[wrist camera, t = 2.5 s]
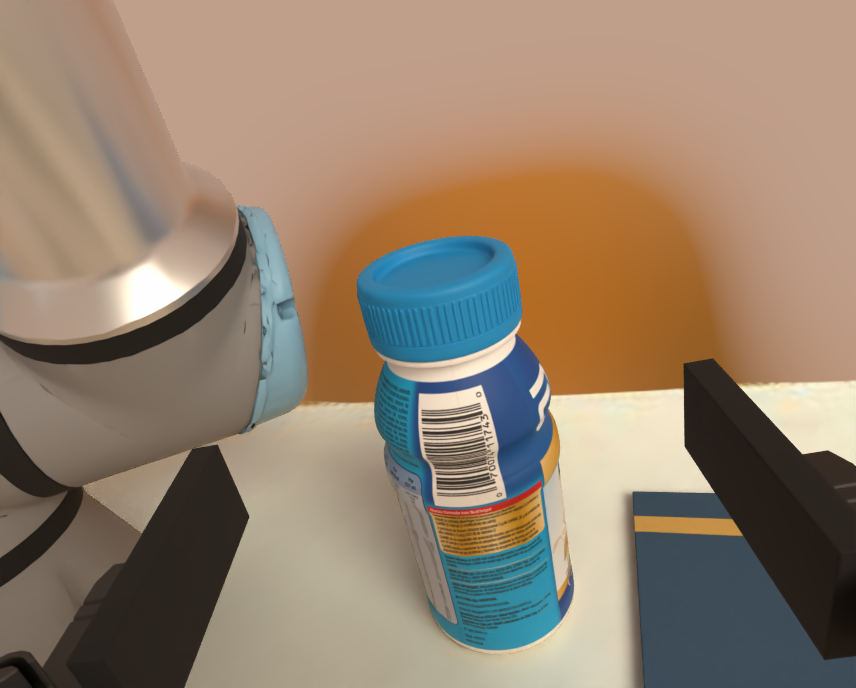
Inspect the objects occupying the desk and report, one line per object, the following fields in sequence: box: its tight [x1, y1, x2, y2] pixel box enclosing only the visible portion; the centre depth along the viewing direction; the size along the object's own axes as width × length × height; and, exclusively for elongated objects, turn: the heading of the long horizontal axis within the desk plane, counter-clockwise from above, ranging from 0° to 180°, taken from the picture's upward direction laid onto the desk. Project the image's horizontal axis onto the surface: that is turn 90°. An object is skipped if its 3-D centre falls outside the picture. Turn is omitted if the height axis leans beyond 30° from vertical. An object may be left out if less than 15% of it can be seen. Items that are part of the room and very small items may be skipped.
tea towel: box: [633, 492, 856, 688], centre depth 27 cm, size 20×15×1 cm
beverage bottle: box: [357, 236, 574, 654], centre depth 29 cm, size 8×8×20 cm
